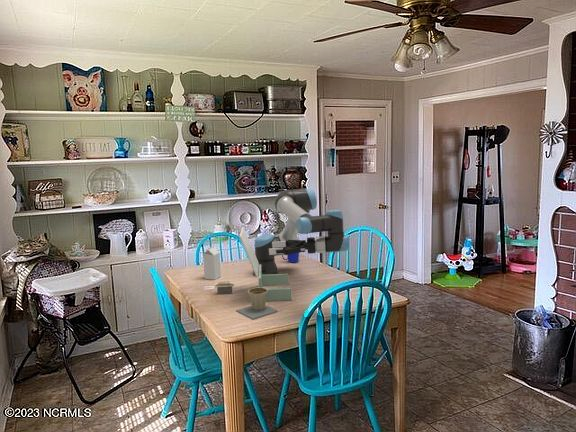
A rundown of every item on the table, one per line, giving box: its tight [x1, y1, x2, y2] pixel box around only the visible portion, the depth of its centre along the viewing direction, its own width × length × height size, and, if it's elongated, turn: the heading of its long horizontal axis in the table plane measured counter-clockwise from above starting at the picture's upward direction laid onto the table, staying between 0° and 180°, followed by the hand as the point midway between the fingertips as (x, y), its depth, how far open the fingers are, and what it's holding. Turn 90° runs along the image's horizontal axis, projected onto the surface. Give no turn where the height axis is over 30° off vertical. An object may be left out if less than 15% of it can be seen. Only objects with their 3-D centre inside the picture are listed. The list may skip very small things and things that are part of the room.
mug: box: [281, 253, 300, 264], centre depth 294 cm, size 8×12×10 cm
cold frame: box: [257, 264, 293, 302], centre depth 233 cm, size 16×26×12 cm, turn 3°
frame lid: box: [239, 226, 259, 278], centre depth 230 cm, size 22×26×1 cm
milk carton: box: [202, 245, 222, 280], centre depth 262 cm, size 7×7×19 cm
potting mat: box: [235, 304, 279, 320], centre depth 208 cm, size 14×14×1 cm
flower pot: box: [247, 287, 268, 310], centre depth 210 cm, size 9×9×9 cm
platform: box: [214, 280, 235, 295], centre depth 235 cm, size 12×18×7 cm, turn 94°
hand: (270, 248), depth 208 cm, fingers open, 13 cm apart
